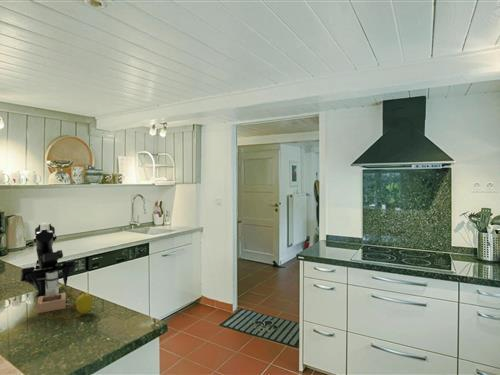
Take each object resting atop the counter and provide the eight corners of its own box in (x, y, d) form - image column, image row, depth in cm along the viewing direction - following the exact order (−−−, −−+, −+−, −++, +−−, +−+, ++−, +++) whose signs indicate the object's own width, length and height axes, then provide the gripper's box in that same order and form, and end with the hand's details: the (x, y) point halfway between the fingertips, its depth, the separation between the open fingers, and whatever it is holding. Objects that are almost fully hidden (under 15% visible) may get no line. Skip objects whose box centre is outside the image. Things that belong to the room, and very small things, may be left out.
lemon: (72, 315, 115) (72, 294, 115) (86, 310, 120) (86, 289, 120) (82, 318, 112) (81, 296, 112) (95, 312, 117) (95, 292, 117)
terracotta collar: (38, 305, 125) (38, 296, 125) (65, 300, 130) (65, 292, 130) (37, 313, 117) (37, 304, 117) (65, 308, 122) (65, 299, 122)
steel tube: (45, 305, 125) (45, 271, 125) (59, 303, 127) (58, 270, 127) (44, 309, 121) (44, 274, 121) (59, 307, 123) (58, 272, 123)
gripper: (21, 248, 120) (26, 282, 112) (74, 241, 133) (82, 271, 125) (17, 264, 125) (23, 298, 118) (69, 256, 139) (76, 286, 131)
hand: (52, 287), depth 123 cm, fingers open, 9 cm apart
